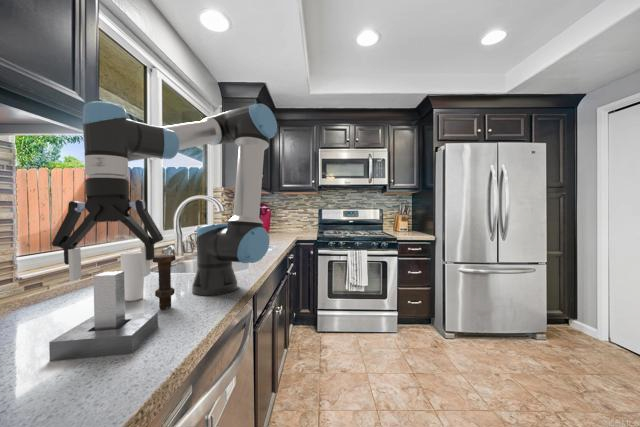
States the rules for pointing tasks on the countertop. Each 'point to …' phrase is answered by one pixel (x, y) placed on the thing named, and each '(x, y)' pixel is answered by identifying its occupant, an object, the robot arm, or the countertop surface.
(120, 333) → the socket block
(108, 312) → the peg
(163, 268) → the bolt
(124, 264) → the drinking glass
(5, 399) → the countertop surface
